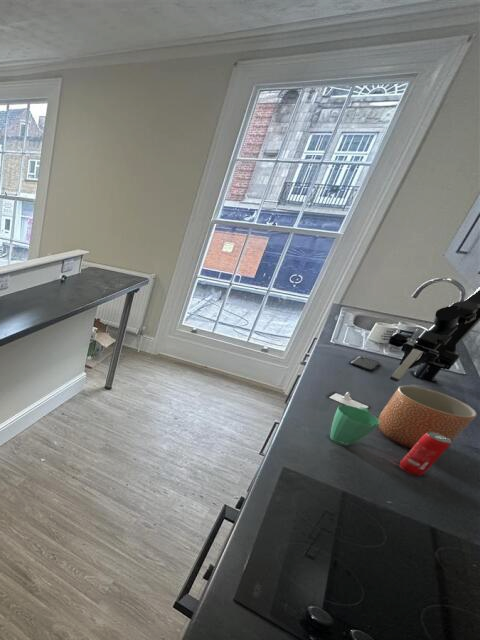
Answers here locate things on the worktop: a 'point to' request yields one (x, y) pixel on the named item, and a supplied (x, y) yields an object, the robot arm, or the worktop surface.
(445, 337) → the robot arm
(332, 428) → the mug
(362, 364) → the smartphone
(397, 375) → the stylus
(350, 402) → the adhesive hook
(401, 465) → the beverage can
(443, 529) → the worktop surface
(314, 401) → the worktop surface
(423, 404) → the planter
